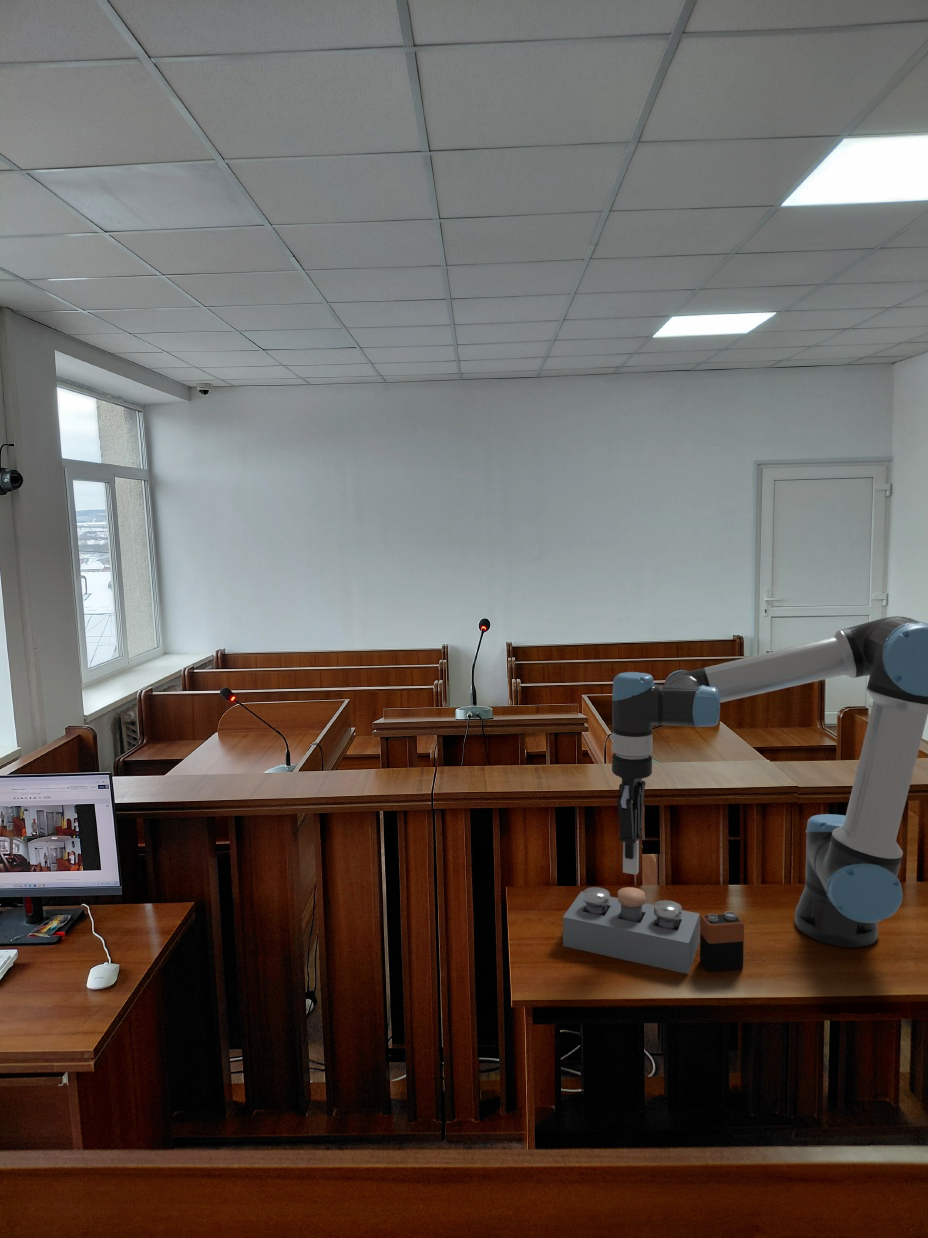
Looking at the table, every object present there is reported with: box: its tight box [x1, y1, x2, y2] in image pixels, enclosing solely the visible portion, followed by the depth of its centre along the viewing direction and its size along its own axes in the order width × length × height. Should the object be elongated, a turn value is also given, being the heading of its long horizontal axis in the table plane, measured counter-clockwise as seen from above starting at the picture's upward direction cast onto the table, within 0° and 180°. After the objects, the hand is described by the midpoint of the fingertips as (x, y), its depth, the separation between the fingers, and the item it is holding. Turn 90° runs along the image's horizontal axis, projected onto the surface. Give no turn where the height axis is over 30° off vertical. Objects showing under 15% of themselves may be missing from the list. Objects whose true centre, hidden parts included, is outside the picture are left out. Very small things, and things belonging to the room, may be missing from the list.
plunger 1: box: [583, 886, 611, 916], centre depth 155 cm, size 5×5×6 cm
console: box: [562, 890, 701, 975], centre depth 152 cm, size 24×12×6 cm, turn 64°
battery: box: [699, 910, 745, 973], centre depth 144 cm, size 4×7×10 cm, turn 96°
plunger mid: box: [617, 886, 646, 923], centre depth 152 cm, size 5×5×6 cm
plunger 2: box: [653, 899, 683, 931], centre depth 149 cm, size 5×5×6 cm
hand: (630, 872), depth 151 cm, fingers closed
